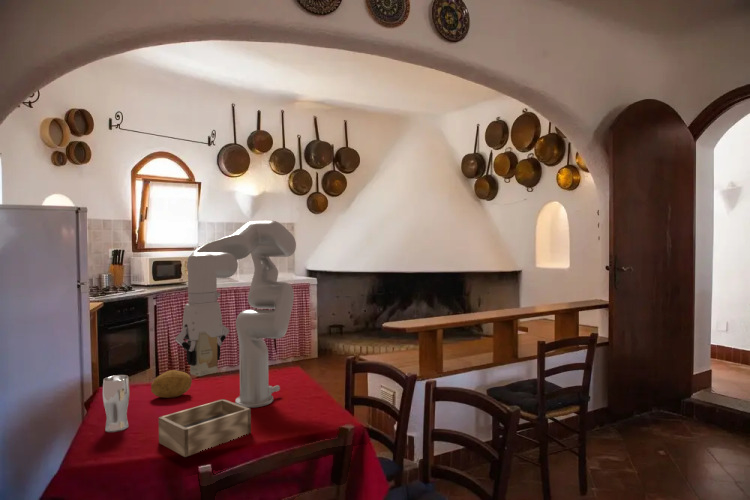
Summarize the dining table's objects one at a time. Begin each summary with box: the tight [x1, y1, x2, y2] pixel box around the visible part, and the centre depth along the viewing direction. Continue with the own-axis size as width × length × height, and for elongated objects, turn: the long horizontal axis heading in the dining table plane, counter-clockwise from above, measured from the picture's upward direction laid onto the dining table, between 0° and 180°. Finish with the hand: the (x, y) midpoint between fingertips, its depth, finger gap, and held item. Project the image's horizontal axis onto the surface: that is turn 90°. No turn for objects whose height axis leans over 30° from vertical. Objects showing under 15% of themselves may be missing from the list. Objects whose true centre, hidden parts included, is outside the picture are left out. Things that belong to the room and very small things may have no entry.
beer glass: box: [102, 374, 130, 433], centre depth 144 cm, size 7×7×15 cm
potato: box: [150, 369, 193, 399], centre depth 173 cm, size 10×13×9 cm
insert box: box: [158, 398, 252, 458], centre depth 136 cm, size 20×14×7 cm
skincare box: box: [189, 332, 218, 377], centre depth 136 cm, size 6×4×12 cm
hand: (203, 361), depth 136 cm, fingers closed on skincare box, 6 cm apart
